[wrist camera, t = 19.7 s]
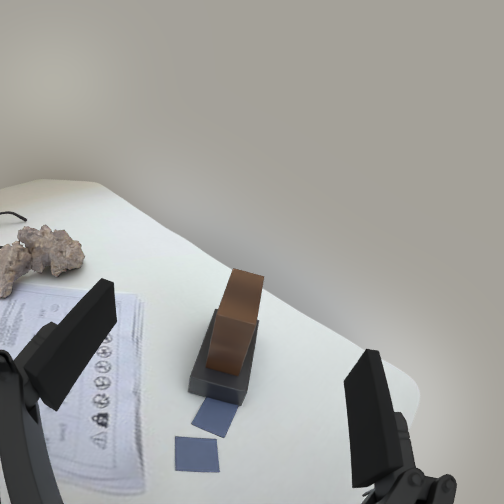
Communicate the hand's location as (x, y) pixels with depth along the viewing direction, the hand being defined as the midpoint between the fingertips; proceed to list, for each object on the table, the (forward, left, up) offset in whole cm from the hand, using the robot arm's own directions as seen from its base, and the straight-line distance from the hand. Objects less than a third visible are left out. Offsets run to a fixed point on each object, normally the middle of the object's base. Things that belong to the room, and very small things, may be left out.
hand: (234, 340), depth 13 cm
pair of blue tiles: (+2, -2, -13) cm, 13 cm away
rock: (+27, +8, -13) cm, 31 cm away
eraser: (+6, -7, -13) cm, 16 cm away
